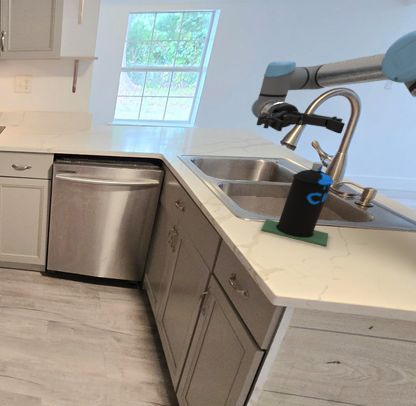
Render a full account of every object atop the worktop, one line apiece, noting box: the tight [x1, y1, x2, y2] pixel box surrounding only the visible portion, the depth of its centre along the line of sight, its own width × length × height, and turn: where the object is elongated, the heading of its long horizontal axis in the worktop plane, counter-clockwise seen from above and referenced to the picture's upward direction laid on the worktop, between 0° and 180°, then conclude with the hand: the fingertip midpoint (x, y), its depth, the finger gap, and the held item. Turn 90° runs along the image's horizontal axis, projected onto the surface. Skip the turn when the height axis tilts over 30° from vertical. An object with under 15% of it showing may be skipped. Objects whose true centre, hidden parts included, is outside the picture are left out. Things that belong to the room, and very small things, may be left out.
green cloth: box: [260, 218, 329, 247], centre depth 103 cm, size 14×8×1 cm, turn 46°
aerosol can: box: [276, 161, 335, 237], centre depth 99 cm, size 8×8×20 cm
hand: (310, 127), depth 100 cm, fingers open, 13 cm apart
